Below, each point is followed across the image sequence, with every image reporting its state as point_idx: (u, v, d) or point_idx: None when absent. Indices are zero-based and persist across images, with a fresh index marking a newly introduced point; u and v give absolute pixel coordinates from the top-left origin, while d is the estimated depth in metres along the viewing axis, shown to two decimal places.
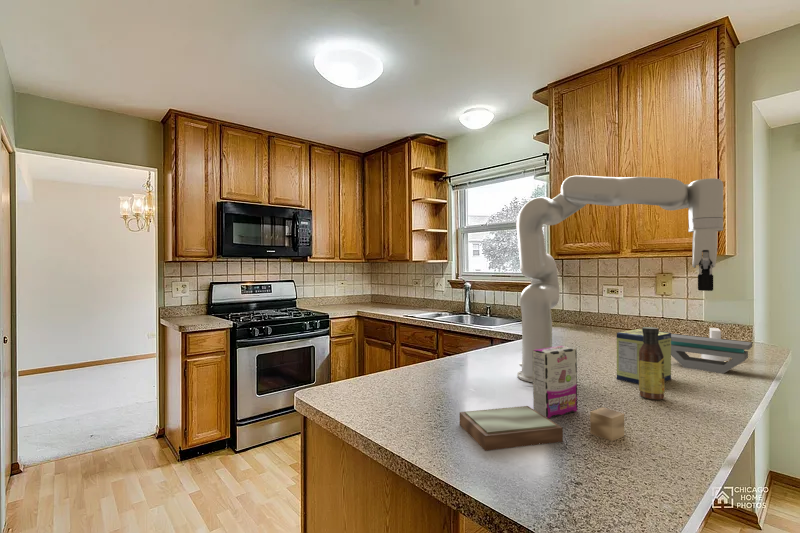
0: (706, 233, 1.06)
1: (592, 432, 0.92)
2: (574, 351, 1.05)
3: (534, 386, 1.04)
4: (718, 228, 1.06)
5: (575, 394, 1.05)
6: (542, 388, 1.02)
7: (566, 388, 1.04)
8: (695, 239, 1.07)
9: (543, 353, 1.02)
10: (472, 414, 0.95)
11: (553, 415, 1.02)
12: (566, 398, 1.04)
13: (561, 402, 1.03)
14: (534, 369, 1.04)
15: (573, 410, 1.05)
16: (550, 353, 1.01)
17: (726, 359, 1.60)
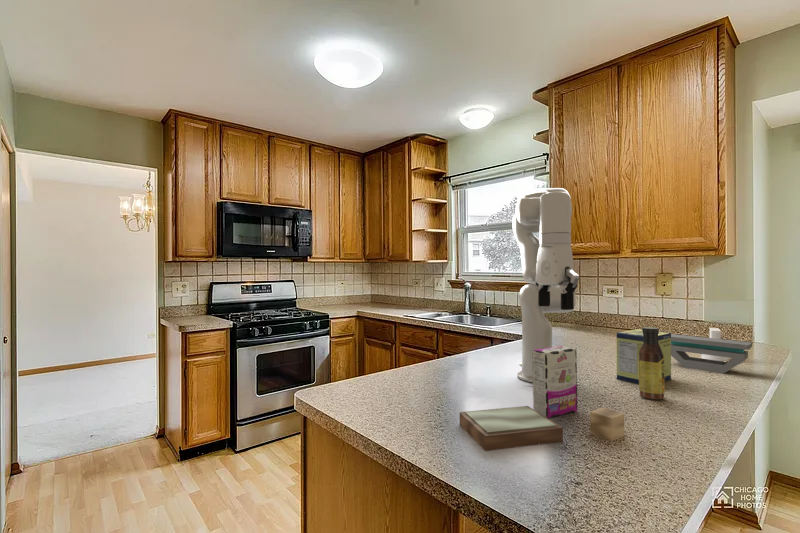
0: (566, 249, 1.01)
1: (592, 432, 0.92)
2: (574, 351, 1.05)
3: (534, 386, 1.04)
4: (570, 244, 1.03)
5: (575, 394, 1.05)
6: (542, 388, 1.02)
7: (566, 388, 1.04)
8: (558, 255, 1.00)
9: (543, 353, 1.02)
10: (472, 414, 0.95)
11: (553, 415, 1.02)
12: (566, 398, 1.04)
13: (561, 402, 1.03)
14: (534, 369, 1.04)
15: (573, 410, 1.05)
16: (550, 353, 1.01)
17: (726, 359, 1.60)
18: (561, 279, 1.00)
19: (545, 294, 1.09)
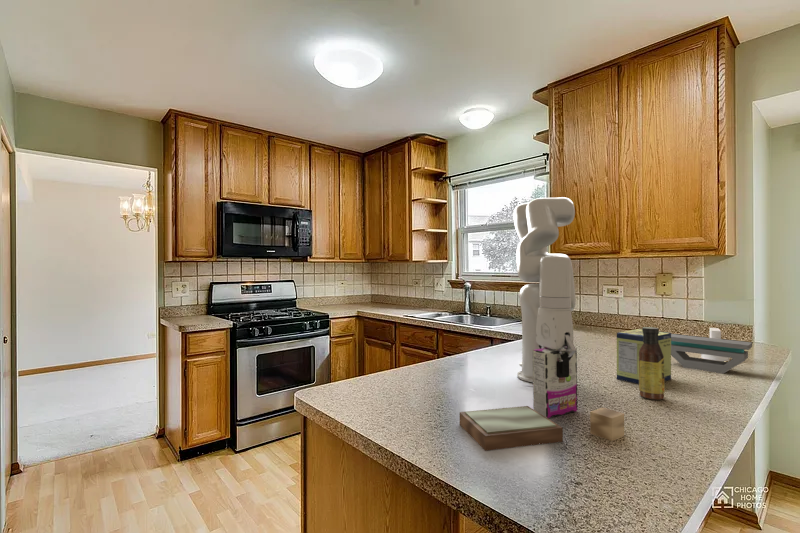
0: (566, 314, 1.01)
1: (592, 432, 0.92)
2: None
3: (534, 386, 1.04)
4: (570, 307, 1.03)
5: (575, 394, 1.05)
6: (542, 388, 1.02)
7: (566, 388, 1.04)
8: (558, 320, 1.00)
9: (543, 353, 1.02)
10: (472, 414, 0.95)
11: (553, 415, 1.02)
12: (566, 398, 1.04)
13: (561, 402, 1.03)
14: (534, 369, 1.04)
15: (573, 410, 1.05)
16: (550, 353, 1.01)
17: (726, 359, 1.60)
18: (561, 345, 1.00)
19: None
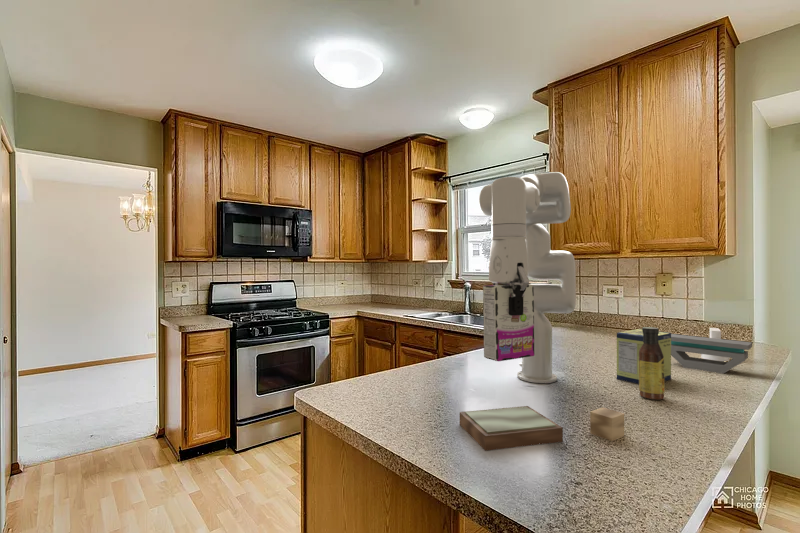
0: (519, 242, 0.88)
1: (592, 432, 0.92)
2: (530, 287, 0.92)
3: (484, 327, 0.91)
4: (525, 236, 0.90)
5: (532, 336, 0.92)
6: (492, 327, 0.89)
7: (521, 329, 0.91)
8: (510, 249, 0.87)
9: (493, 287, 0.89)
10: (472, 414, 0.95)
11: (505, 358, 0.89)
12: (521, 340, 0.91)
13: (514, 344, 0.90)
14: (484, 307, 0.91)
15: (529, 354, 0.92)
16: (501, 287, 0.88)
17: (726, 359, 1.60)
18: (513, 277, 0.87)
19: None
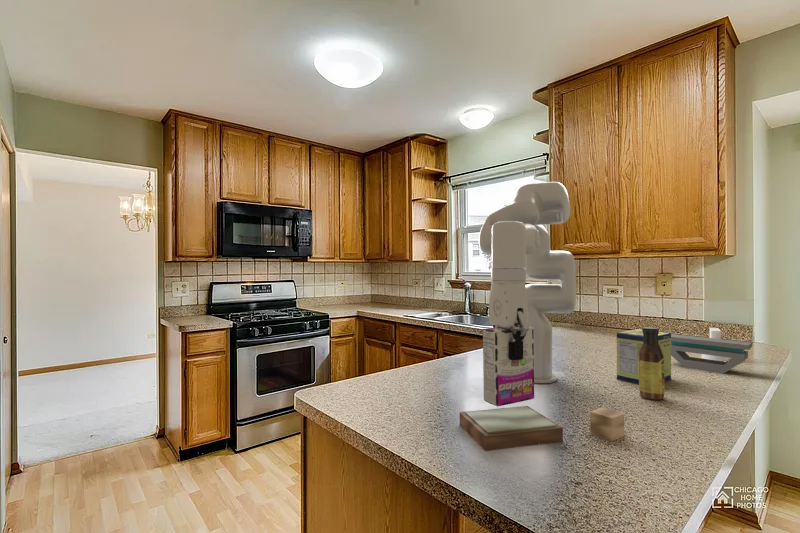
0: (519, 287, 0.88)
1: (592, 432, 0.92)
2: (530, 330, 0.92)
3: (484, 370, 0.91)
4: (525, 280, 0.91)
5: (531, 379, 0.92)
6: (492, 372, 0.89)
7: (521, 372, 0.91)
8: (509, 294, 0.87)
9: (493, 332, 0.89)
10: (472, 414, 0.95)
11: (505, 403, 0.89)
12: (521, 384, 0.91)
13: (514, 388, 0.90)
14: (484, 351, 0.91)
15: (529, 398, 0.92)
16: (501, 332, 0.88)
17: (726, 359, 1.60)
18: (512, 322, 0.87)
19: None
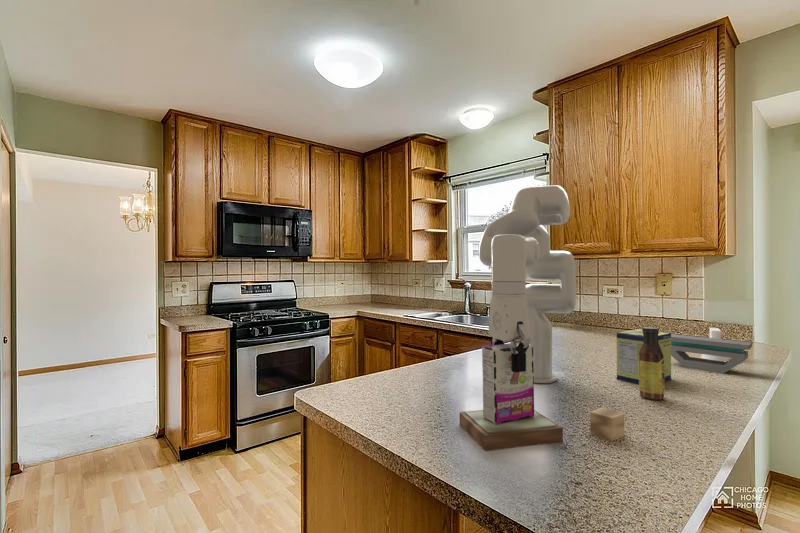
0: (519, 301, 0.88)
1: (592, 432, 0.92)
2: (530, 348, 0.93)
3: (483, 387, 0.92)
4: (525, 293, 0.91)
5: (531, 397, 0.93)
6: (491, 390, 0.90)
7: (520, 390, 0.91)
8: (509, 308, 0.87)
9: (492, 350, 0.89)
10: (472, 414, 0.95)
11: (503, 421, 0.89)
12: (520, 402, 0.91)
13: (513, 406, 0.90)
14: (483, 368, 0.92)
15: (529, 415, 0.92)
16: (500, 350, 0.89)
17: (726, 359, 1.60)
18: (512, 336, 0.87)
19: None
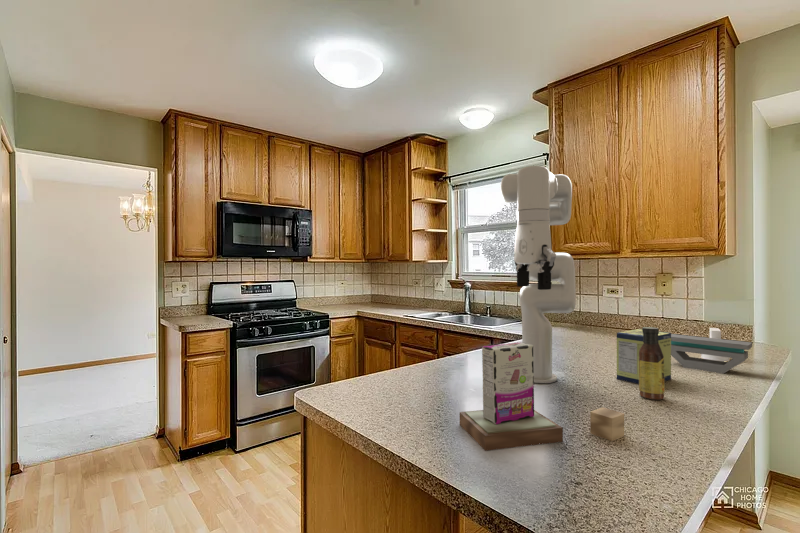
0: (544, 226, 0.96)
1: (592, 432, 0.92)
2: (530, 348, 0.93)
3: (483, 387, 0.92)
4: (549, 221, 0.98)
5: (531, 397, 0.93)
6: (491, 390, 0.90)
7: (520, 390, 0.91)
8: (535, 232, 0.96)
9: (492, 350, 0.89)
10: (472, 414, 0.95)
11: (503, 421, 0.89)
12: (520, 402, 0.91)
13: (513, 406, 0.90)
14: (483, 368, 0.92)
15: (529, 415, 0.92)
16: (500, 350, 0.89)
17: (726, 359, 1.60)
18: (538, 258, 0.95)
19: (524, 274, 1.05)
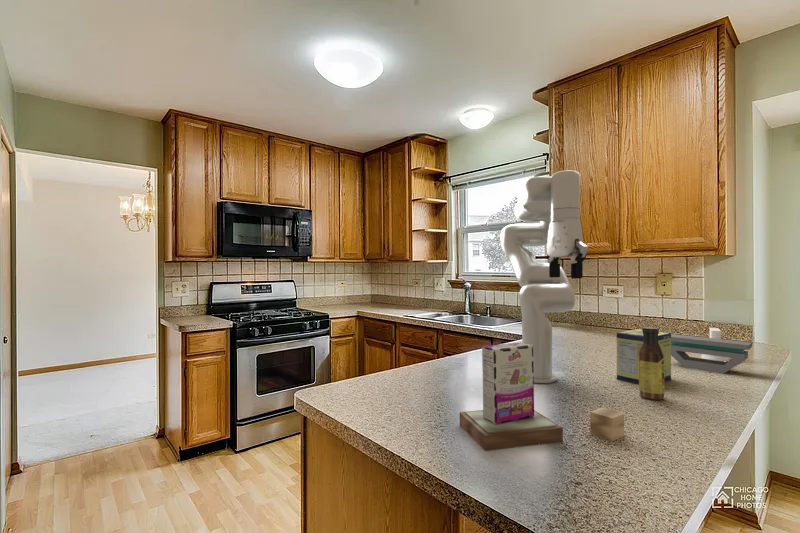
0: (576, 223, 1.09)
1: (592, 432, 0.92)
2: (530, 348, 0.93)
3: (483, 387, 0.92)
4: (579, 218, 1.12)
5: (531, 397, 0.93)
6: (491, 390, 0.90)
7: (520, 390, 0.91)
8: (568, 228, 1.09)
9: (492, 350, 0.89)
10: (472, 414, 0.95)
11: (503, 421, 0.89)
12: (520, 402, 0.91)
13: (513, 406, 0.90)
14: (483, 368, 0.92)
15: (529, 415, 0.92)
16: (500, 350, 0.89)
17: (726, 359, 1.60)
18: (571, 250, 1.09)
19: (555, 266, 1.18)
